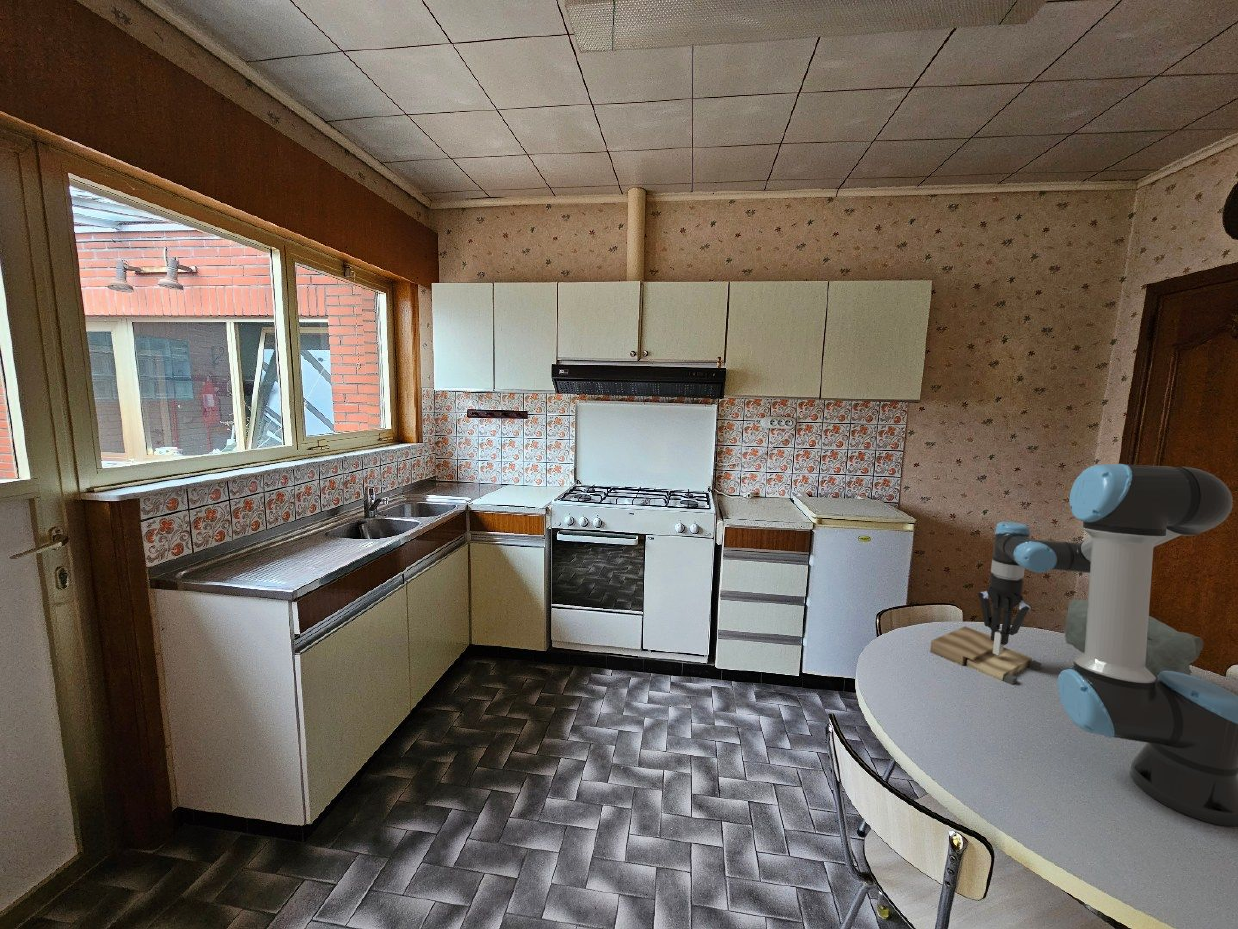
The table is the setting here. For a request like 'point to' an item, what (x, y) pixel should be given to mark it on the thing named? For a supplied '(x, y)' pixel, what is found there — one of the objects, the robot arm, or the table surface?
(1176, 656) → the rock
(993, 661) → the plank
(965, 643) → the board
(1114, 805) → the table surface
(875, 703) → the table surface
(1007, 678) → the spacers
